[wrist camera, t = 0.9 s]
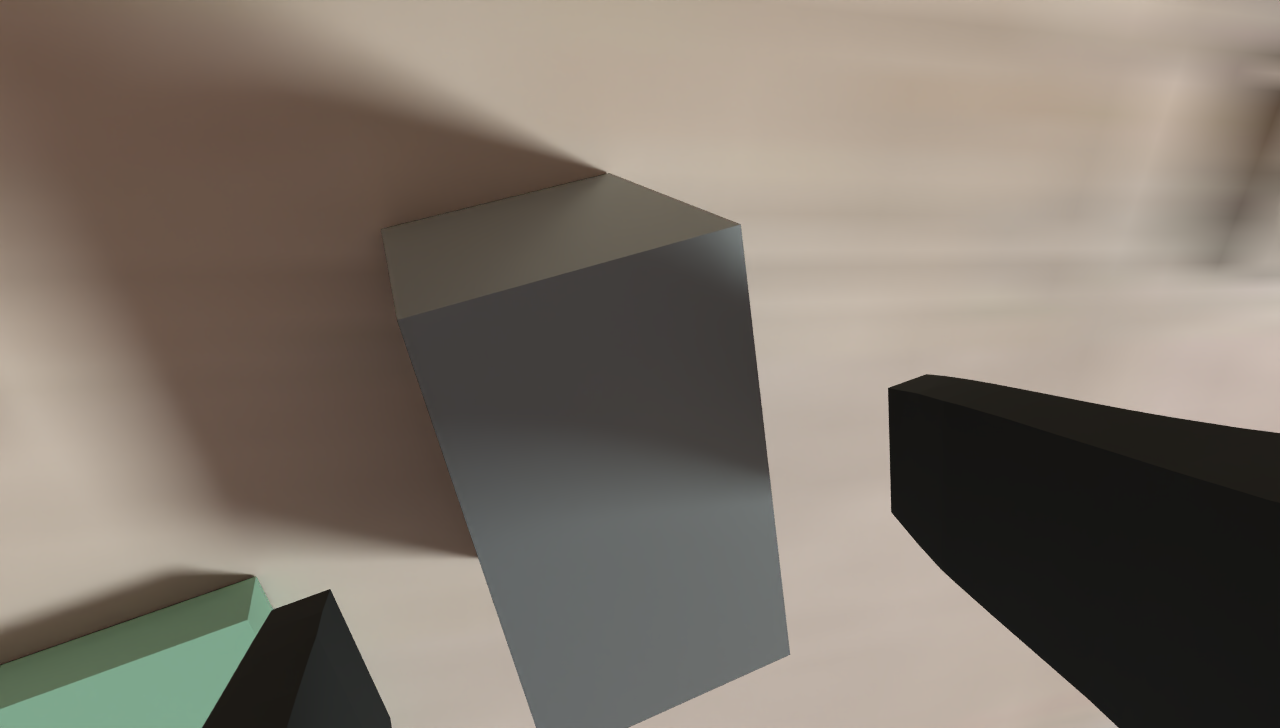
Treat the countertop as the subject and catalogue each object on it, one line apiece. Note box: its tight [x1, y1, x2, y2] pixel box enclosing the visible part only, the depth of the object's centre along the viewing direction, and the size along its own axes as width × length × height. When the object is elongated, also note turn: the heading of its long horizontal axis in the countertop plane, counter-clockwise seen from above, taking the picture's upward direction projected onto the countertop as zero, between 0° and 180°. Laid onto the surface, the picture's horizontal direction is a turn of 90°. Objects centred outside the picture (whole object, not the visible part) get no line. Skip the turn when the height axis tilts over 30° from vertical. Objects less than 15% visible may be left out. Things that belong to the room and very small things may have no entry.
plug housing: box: [381, 173, 790, 728], centre depth 12 cm, size 7×4×5 cm, turn 11°
